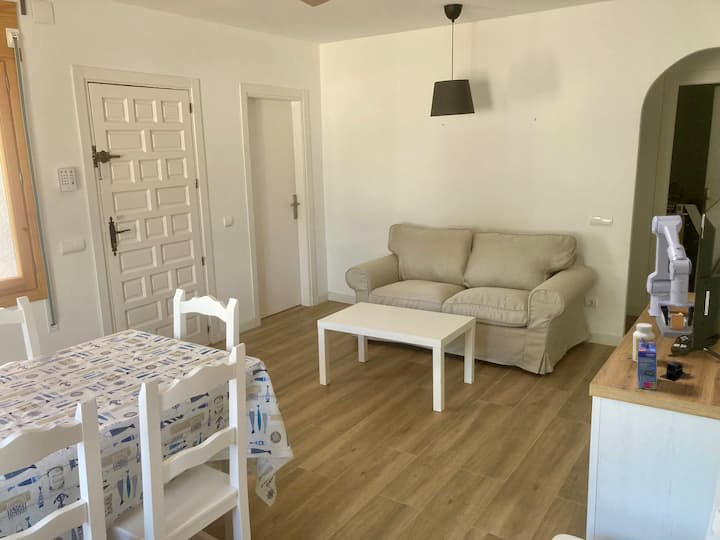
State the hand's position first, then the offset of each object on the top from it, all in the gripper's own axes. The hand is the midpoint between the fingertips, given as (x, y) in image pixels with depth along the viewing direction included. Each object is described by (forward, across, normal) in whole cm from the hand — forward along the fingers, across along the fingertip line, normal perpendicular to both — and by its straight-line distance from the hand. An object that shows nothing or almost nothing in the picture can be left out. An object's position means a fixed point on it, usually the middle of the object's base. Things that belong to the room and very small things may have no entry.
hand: (677, 325), depth 219 cm
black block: (+4, -7, -44) cm, 45 cm away
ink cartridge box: (+4, -16, -53) cm, 55 cm away
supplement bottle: (+4, -15, -33) cm, 36 cm away
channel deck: (+3, 0, +6) cm, 7 cm away
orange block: (+1, 0, +2) cm, 2 cm away
